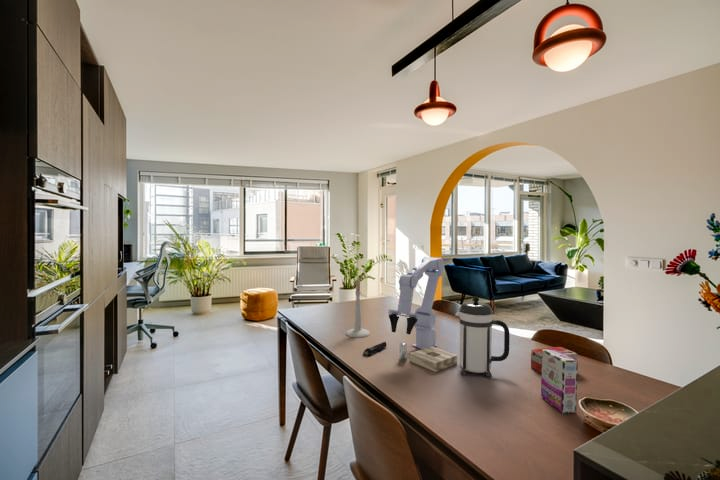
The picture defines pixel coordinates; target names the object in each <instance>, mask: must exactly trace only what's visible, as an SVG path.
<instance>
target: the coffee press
mask: <svg viewBox="0 0 720 480" xmlns="http://www.w3.org/2000/svg"><path fill="white" fill-rule="evenodd" d="M472 300H473V301H465V302H463V303H462V304H461V305H460V307H459V308H458V310H457V312H456V313H455V316H457V317H458V316H459V321H458V323H459V366H460V367H461V371H460V374H461V375H462V376H467V373H469V372H471V373H476V374H484V375H485V376H486V378H488V379H489V378H492V377H493V375H492V372H491V368H492V362H502V361H505V360H506V359H507V358H508V356H509V353H510V329H509V327H508V324H507V323H505V322H504V321H503V320H499V319H493V314H494V310H492V306H490V305H489V304H488V303H485V302H482V301H480V302H479V300H480V298H479V297H478V296H474V297H472ZM493 325H497V326H500V327H502V329H503V330H504V331H503V332H504V334H503V335H504V338H503V339H504V341H503V342H504V344H503V345H504V346H503V347H504V348H503V353H502V354H501V355H499V356H497V355H495V356H494V355H492V339H493V338H492V333H493V332H492V329H493V328H492V327H493Z"/></svg>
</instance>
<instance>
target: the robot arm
mask: <svg viewBox="0 0 720 480" xmlns="http://www.w3.org/2000/svg"><path fill="white" fill-rule="evenodd" d="M444 267H445V262H444V260H443V258H442V257H427V256H423V258H422V259H421V263H420V264H419V265H418V266H413V267H412V269H410V271H408V272H407V273H406V274H402V275H400V277H399V280H398V285H399V298H398V304H397V310H396V309H388V313H387V314H388V319H389V321H390V325H391V328H390V329H391V333H396V331H397V326H398V322H399V319H400V317H405V318H406V333H405V334H407V335H411V333H412V332H413V331H412V330H413V328H415V343H413V344H411V345H412V347H415V348H418V349H419V350H421V349H425V348H428V347H431V346H432V347H435V348H436V347H437V346H438V344H437V343H436V339H437V337H436V336H437V335H436V334H437V332H436V330H435V328H434V327H435V326H436V325H435V324H436V317H437V314H436V313H435V312H434V310H433V304H434V301H435V300H434V299H435V297H436V293H437V292H436V291H437V288H438V284H439V278H440V277H442V275H443V273H444ZM424 274H425V275H426V276H427V277H428V278H427V282H426V287H425V290H424V294H423V298H422V301H421V306H419V307H418V308H417V309H415V312H411V310H412V305H413V297H414V290H415V288H417V286H418V283H419V280H421V279H422V278H423V277H424Z"/></svg>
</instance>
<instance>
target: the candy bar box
mask: <svg viewBox="0 0 720 480" xmlns="http://www.w3.org/2000/svg"><path fill="white" fill-rule="evenodd" d="M542 349H543V348H542ZM578 363H579V361H578V359H577V360H575V359H573V358H571V357H569V356H567V355H565V354H563V353H561V352H559V351H557V350H555V349H543V350H542V374H541V387H540V397H541V396H542V397H543V398H544V399H543V398H542V397H541V398H542V399H543V400H545V399H546V400H547V401H548V402H549V404H550V403H551V404H552V405H553V406H552V405H551V404H550V405H551V406H552V407H553V408H555V407H556V408H557V409H558V411H559V412H560V411H561V412H562V413H561V412H560V413H561V414H573V413H572V412H576V413H577V403H578V402H577V401H578V400H577V397H578V396H577V395H578V394H577V393H578ZM546 400H545V401H546ZM547 401H546V402H547ZM548 402H547V403H548ZM556 408H555V409H556ZM557 409H556V410H557ZM568 412H569V413H568Z"/></svg>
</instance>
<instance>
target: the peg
mask: <svg viewBox="0 0 720 480" xmlns="http://www.w3.org/2000/svg"><path fill="white" fill-rule="evenodd" d="M399 361H401V362H406V361H408V343H407V342H399Z"/></svg>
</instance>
